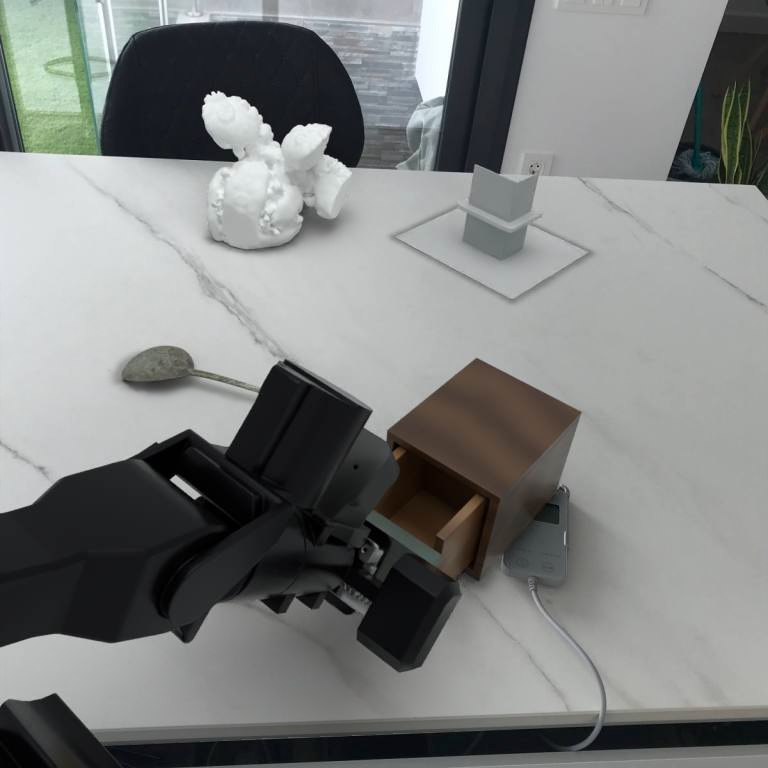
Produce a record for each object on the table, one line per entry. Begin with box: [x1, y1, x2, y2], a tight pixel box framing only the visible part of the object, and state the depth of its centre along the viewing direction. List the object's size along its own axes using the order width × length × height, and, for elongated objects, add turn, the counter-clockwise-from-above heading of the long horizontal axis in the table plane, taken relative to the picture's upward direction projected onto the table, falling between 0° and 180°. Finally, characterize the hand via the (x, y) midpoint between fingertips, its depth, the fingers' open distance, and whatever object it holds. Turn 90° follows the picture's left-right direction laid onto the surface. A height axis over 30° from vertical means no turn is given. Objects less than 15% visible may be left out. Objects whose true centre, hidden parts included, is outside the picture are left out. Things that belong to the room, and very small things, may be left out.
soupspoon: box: [121, 345, 261, 394], centre depth 81 cm, size 22×3×7 cm
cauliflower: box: [201, 90, 353, 251], centre depth 107 cm, size 19×20×20 cm
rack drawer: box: [366, 445, 490, 602], centre depth 63 cm, size 16×10×9 cm, turn 142°
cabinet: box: [385, 357, 583, 582], centre depth 69 cm, size 14×11×11 cm
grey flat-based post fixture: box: [395, 164, 590, 300], centre depth 107 cm, size 19×21×12 cm
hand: (372, 550), depth 58 cm, fingers closed, pressing on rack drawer
